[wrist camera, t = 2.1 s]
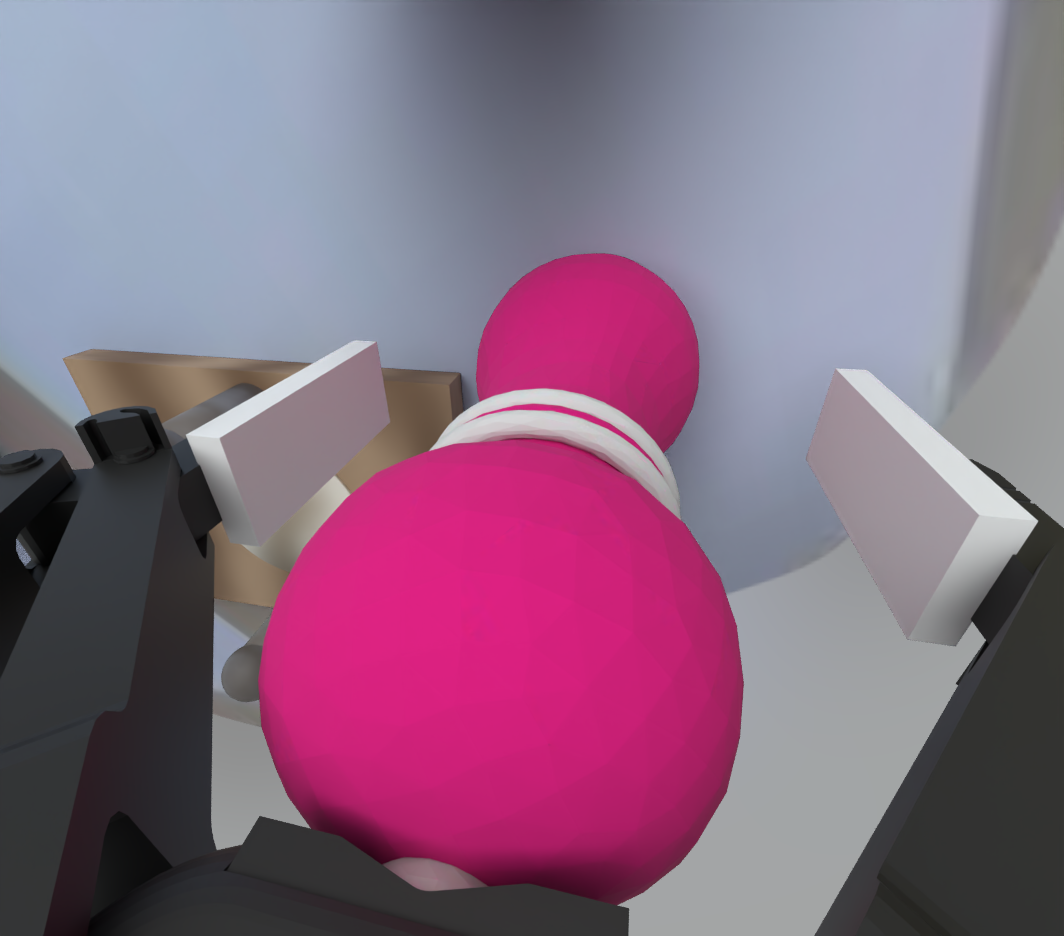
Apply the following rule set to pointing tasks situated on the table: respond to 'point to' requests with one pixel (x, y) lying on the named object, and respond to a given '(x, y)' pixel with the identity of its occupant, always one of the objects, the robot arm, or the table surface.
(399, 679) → the pepper mill
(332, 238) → the table surface
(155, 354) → the holder
